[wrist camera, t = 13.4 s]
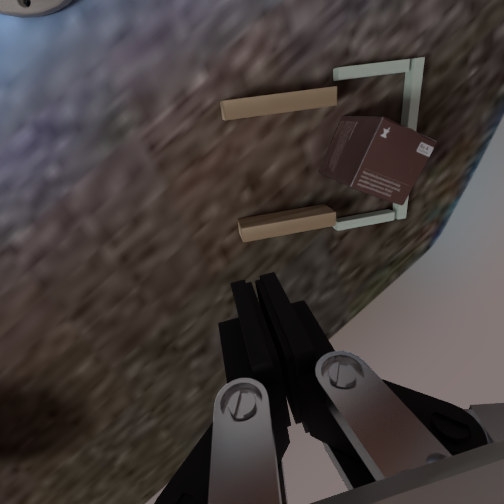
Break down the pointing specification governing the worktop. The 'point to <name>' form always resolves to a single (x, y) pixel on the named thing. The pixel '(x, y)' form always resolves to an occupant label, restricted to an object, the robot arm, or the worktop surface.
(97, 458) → the worktop surface
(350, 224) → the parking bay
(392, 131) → the box
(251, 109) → the channel
